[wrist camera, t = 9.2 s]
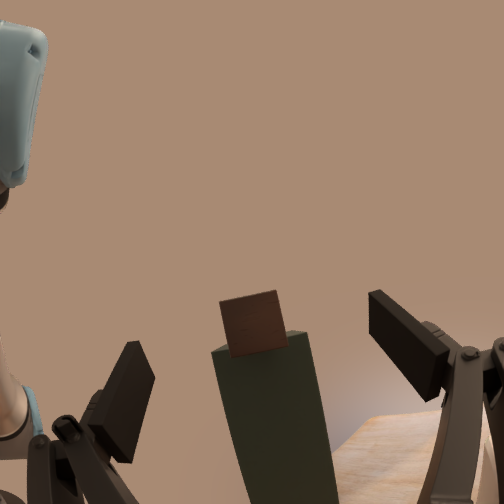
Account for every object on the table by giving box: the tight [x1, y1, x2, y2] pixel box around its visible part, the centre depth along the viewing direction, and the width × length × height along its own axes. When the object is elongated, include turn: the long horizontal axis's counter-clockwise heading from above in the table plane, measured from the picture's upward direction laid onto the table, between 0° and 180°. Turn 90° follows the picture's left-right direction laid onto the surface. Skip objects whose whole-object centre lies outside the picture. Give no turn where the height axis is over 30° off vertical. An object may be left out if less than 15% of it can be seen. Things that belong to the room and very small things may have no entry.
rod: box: [219, 290, 289, 358], centre depth 25 cm, size 3×22×3 cm, turn 179°
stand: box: [211, 331, 339, 504], centre depth 24 cm, size 8×10×27 cm
